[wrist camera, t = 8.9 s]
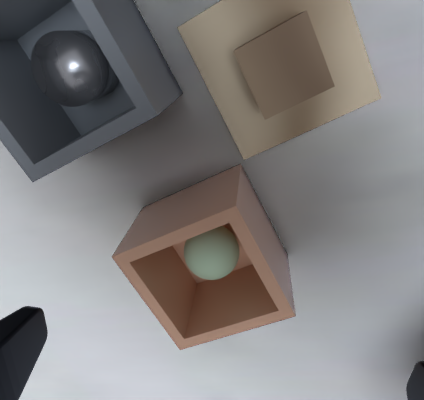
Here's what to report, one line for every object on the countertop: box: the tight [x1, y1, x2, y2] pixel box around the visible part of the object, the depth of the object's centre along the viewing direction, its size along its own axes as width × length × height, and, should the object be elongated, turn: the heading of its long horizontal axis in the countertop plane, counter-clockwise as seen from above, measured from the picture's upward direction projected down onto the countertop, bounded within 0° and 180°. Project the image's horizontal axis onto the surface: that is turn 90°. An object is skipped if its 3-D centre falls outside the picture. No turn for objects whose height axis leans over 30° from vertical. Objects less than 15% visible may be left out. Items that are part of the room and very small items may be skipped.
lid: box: [177, 0, 381, 160], centre depth 15 cm, size 7×7×4 cm
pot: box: [112, 164, 296, 350], centre depth 19 cm, size 6×6×5 cm
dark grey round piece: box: [31, 30, 119, 107], centre depth 16 cm, size 3×3×2 cm
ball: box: [184, 226, 239, 280], centre depth 19 cm, size 3×3×3 cm
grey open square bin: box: [0, 0, 183, 182], centre depth 15 cm, size 6×6×5 cm
